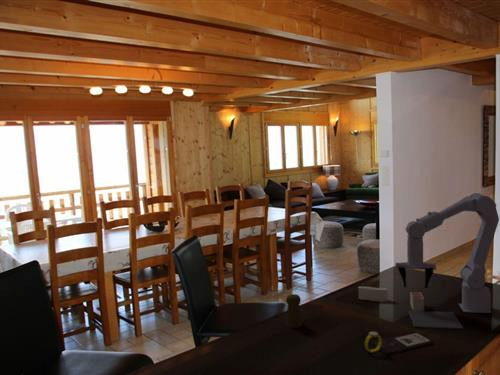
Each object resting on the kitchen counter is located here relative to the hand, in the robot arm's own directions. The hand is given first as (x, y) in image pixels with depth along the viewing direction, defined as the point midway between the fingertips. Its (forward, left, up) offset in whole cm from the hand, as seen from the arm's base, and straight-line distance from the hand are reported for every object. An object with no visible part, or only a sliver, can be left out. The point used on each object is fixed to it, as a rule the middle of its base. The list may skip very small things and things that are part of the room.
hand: (415, 287), depth 168 cm
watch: (+18, +37, -9) cm, 42 cm away
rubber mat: (-5, +11, -9) cm, 15 cm away
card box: (-1, -1, -9) cm, 9 cm away
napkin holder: (+16, -9, -9) cm, 21 cm away
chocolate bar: (+9, +31, -9) cm, 34 cm away
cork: (+45, +19, -9) cm, 50 cm away
